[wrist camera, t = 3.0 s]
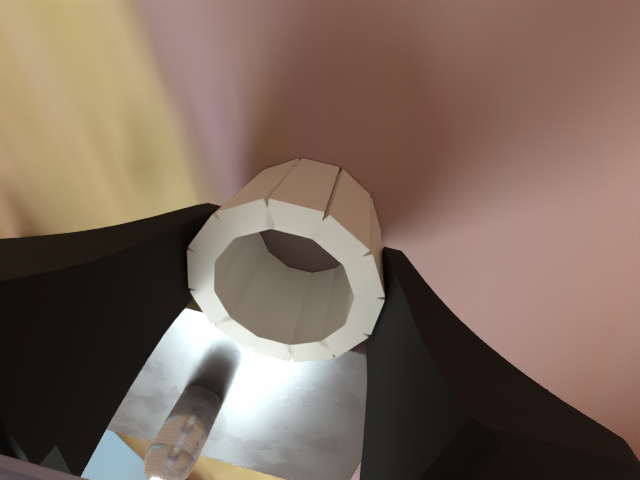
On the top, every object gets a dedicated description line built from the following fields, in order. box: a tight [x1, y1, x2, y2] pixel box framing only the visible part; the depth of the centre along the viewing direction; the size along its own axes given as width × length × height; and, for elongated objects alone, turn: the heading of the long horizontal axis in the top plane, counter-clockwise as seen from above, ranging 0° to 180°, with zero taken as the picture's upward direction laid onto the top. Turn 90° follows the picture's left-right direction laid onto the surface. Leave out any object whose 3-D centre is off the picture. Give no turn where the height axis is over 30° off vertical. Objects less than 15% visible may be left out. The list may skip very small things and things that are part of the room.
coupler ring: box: [187, 158, 385, 363], centre depth 10 cm, size 6×6×4 cm
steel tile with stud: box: [107, 298, 367, 480], centre depth 16 cm, size 20×14×5 cm
